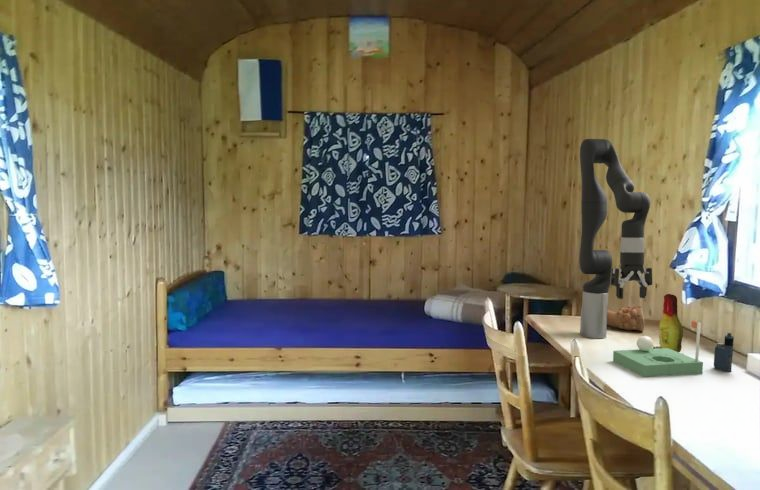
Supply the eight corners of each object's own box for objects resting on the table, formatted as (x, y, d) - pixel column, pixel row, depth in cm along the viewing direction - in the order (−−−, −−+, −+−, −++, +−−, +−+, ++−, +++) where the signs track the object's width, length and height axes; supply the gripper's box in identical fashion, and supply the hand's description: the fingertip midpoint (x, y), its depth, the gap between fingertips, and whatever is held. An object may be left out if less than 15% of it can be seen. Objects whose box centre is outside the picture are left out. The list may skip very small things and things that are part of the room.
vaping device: (728, 372, 177) (731, 334, 175) (711, 367, 181) (714, 330, 180) (733, 371, 178) (736, 333, 177) (716, 366, 182) (719, 330, 181)
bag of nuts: (623, 343, 223) (657, 331, 225) (616, 318, 221) (651, 306, 223) (598, 330, 242) (630, 319, 243) (592, 307, 240) (624, 295, 241)
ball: (633, 349, 189) (633, 334, 189) (646, 348, 190) (647, 333, 190) (642, 353, 184) (643, 338, 184) (656, 352, 185) (657, 337, 185)
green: (613, 361, 188) (615, 314, 186) (666, 358, 191) (669, 312, 190) (644, 377, 172) (647, 326, 170) (702, 373, 176) (705, 324, 174)
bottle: (653, 345, 207) (656, 291, 205) (672, 346, 206) (675, 291, 204) (665, 355, 195) (668, 297, 193) (685, 355, 194) (688, 298, 192)
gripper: (643, 250, 199) (642, 296, 200) (606, 250, 196) (606, 297, 197) (658, 251, 192) (657, 299, 193) (620, 251, 189) (619, 300, 190)
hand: (631, 298), depth 195 cm, fingers open, 8 cm apart
